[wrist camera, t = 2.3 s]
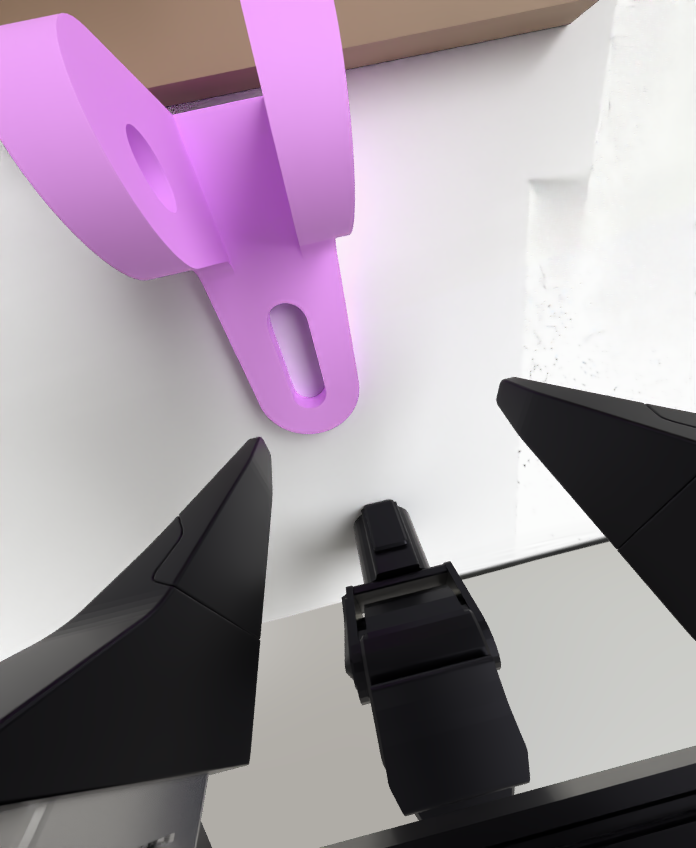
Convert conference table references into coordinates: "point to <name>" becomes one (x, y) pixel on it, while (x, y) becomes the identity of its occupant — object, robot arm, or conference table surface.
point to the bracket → (205, 182)
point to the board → (230, 46)
